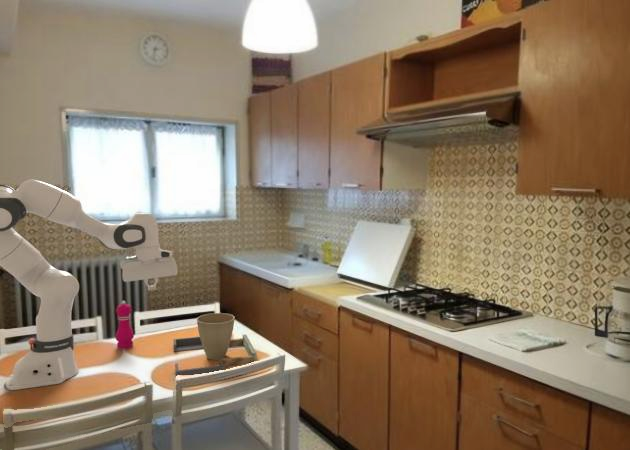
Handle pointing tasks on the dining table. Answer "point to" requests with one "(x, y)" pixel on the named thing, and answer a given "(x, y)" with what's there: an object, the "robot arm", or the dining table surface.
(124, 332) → the pepper mill
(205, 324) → the plant pot
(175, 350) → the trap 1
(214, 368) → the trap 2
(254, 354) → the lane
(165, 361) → the dining table surface
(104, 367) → the dining table surface
